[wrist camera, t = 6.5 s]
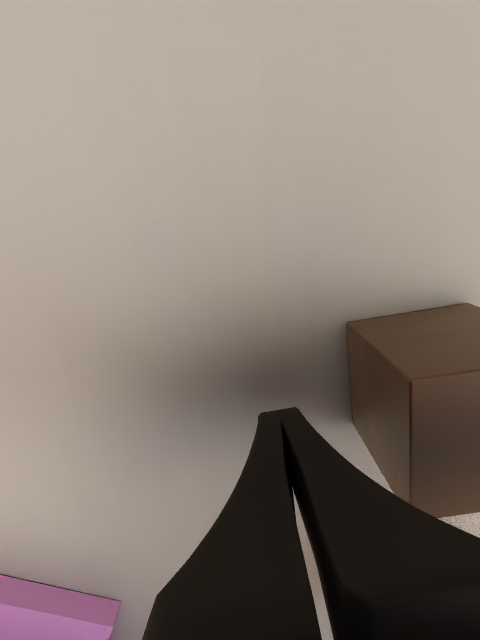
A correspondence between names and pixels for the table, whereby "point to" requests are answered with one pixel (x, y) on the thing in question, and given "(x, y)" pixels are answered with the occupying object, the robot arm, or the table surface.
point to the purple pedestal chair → (52, 613)
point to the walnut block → (421, 404)
